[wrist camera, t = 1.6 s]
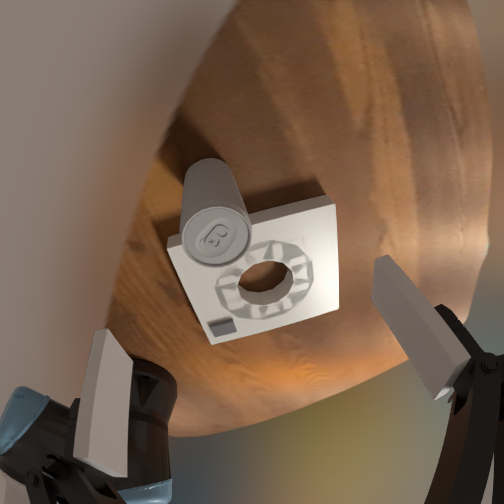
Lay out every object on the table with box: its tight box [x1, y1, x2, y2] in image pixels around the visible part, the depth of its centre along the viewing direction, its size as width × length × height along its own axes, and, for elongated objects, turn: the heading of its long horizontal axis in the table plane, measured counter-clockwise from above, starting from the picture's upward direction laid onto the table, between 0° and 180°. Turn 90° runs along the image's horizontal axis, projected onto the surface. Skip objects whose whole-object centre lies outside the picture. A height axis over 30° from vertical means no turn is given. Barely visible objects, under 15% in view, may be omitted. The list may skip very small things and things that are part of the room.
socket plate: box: [167, 195, 339, 345], centre depth 35 cm, size 18×16×3 cm
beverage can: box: [179, 158, 252, 268], centre depth 24 cm, size 5×5×12 cm
